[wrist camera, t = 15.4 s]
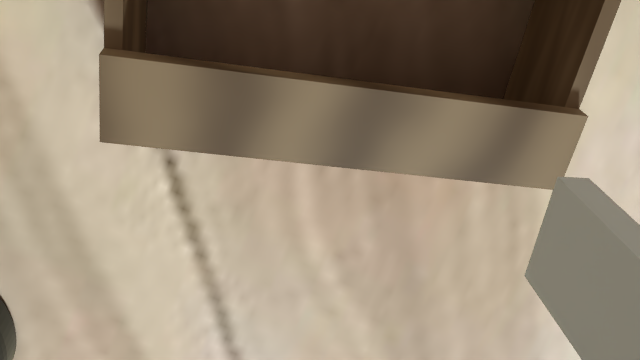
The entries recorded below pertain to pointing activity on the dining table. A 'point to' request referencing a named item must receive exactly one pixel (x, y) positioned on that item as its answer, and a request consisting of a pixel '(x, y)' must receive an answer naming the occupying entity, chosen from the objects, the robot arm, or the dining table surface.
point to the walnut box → (360, 106)
